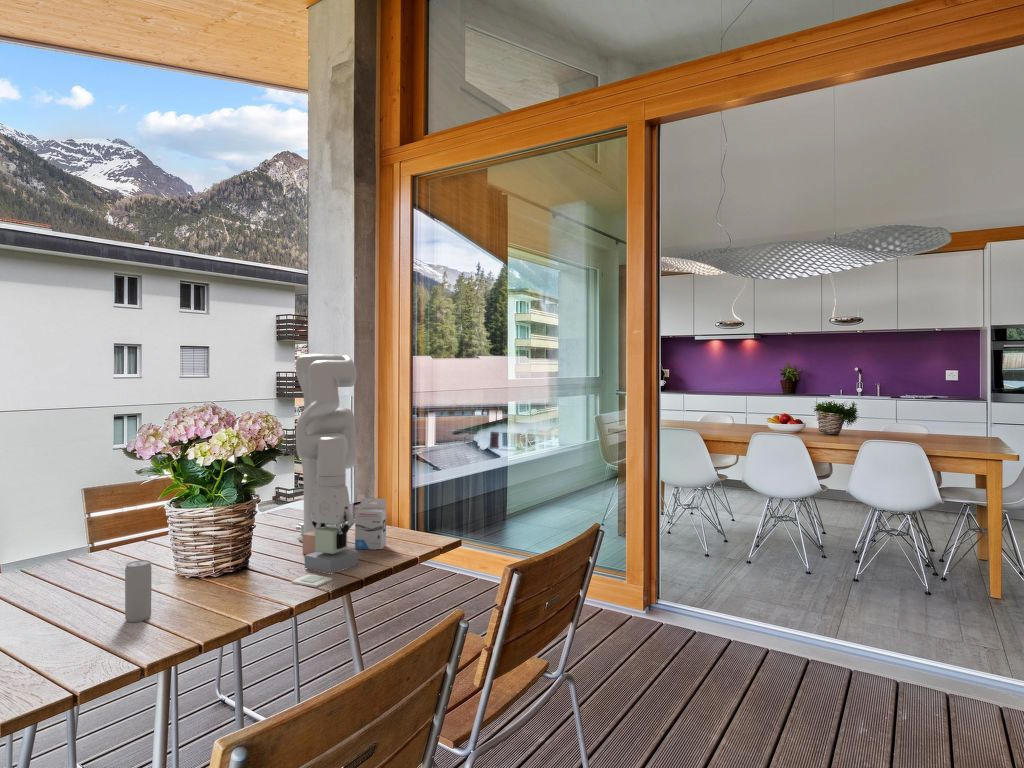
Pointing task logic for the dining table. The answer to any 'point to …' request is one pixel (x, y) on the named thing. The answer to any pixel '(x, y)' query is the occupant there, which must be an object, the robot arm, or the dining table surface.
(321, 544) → the sage cube
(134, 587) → the beverage can
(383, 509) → the ink box
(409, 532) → the dining table surface
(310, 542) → the brick cube
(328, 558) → the slate base block
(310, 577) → the card
